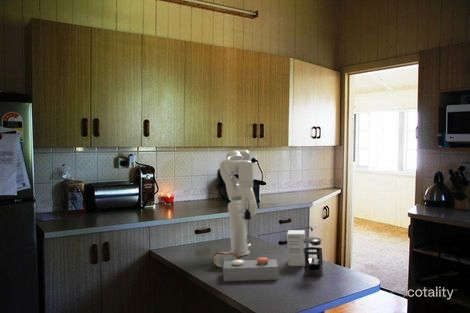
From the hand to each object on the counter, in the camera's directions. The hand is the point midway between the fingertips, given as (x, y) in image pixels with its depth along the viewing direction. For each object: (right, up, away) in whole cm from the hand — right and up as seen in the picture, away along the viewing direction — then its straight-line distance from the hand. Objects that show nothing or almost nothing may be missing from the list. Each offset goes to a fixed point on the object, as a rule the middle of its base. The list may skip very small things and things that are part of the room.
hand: (247, 219), depth 204 cm
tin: (-11, -26, +1) cm, 28 cm away
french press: (+32, -24, -15) cm, 43 cm away
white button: (-5, -23, -14) cm, 28 cm away
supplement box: (+26, -24, +3) cm, 36 cm away
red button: (+7, -22, -15) cm, 27 cm away
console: (+1, -25, -14) cm, 29 cm away
